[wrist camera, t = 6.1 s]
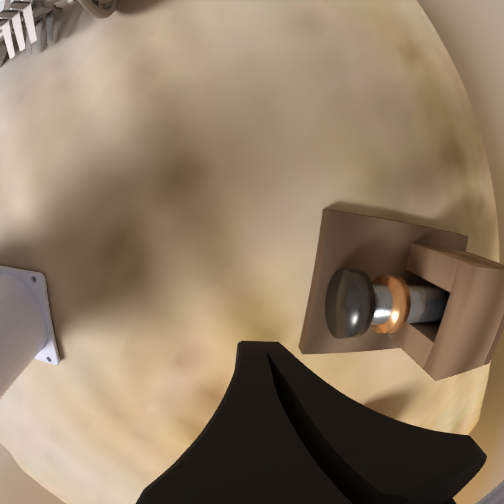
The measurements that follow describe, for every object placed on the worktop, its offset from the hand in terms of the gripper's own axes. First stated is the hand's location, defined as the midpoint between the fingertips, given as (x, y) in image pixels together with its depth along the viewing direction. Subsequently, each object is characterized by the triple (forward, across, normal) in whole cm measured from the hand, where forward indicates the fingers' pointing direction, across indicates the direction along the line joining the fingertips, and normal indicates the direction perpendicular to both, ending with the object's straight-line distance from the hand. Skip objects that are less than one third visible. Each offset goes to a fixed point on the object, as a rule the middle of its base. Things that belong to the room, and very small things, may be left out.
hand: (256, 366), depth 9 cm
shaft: (+8, -12, 0) cm, 14 cm away
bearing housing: (+9, -12, 0) cm, 15 cm away
